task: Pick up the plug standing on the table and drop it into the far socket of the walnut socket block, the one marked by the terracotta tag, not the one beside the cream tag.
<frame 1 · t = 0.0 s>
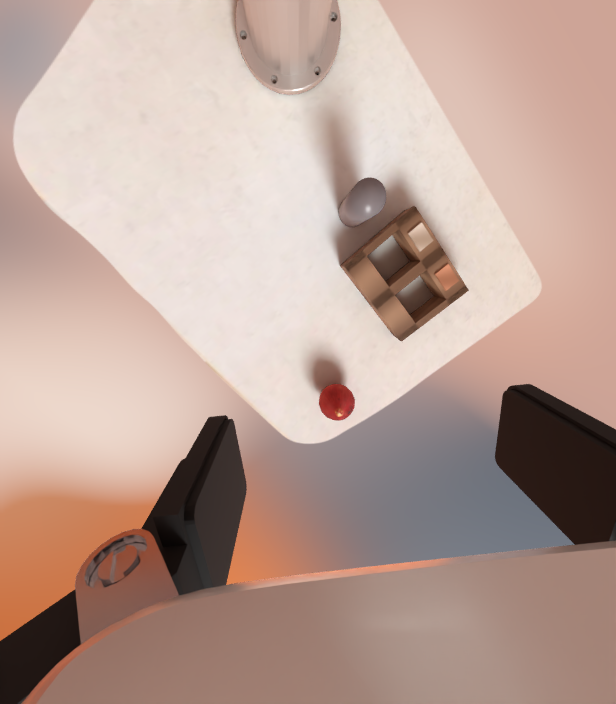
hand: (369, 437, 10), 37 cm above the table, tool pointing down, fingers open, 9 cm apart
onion: (333, 391, 51), on the table
socket block: (398, 276, 45), on the table
plug: (352, 212, 42), on the table
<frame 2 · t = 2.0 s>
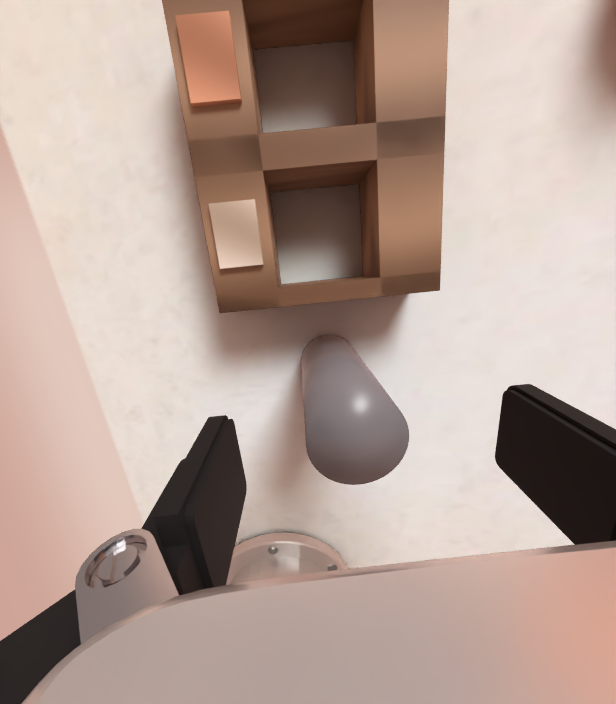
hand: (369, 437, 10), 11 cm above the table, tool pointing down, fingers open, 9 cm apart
socket block: (313, 174, 17), on the table
plug: (328, 361, 21), on the table
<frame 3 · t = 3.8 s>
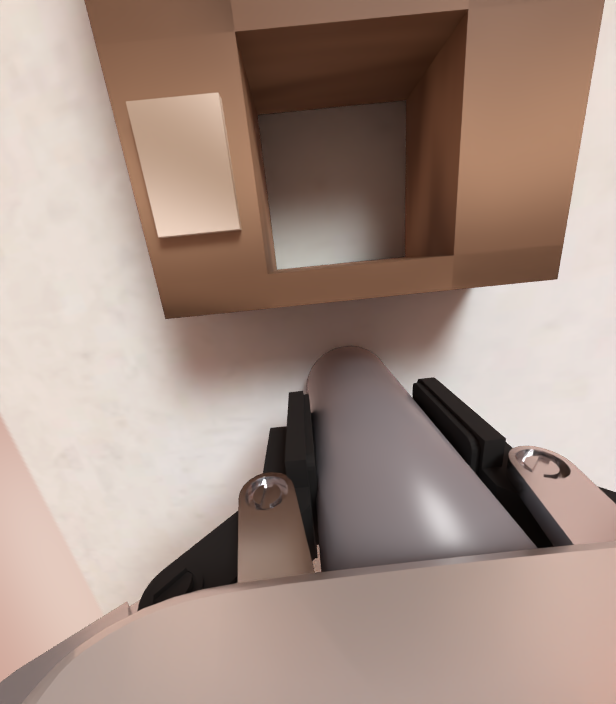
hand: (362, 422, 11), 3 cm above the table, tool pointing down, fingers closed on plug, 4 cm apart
socket block: (330, 82, 10), on the table
plug: (347, 385, 14), on the table, touching gripper
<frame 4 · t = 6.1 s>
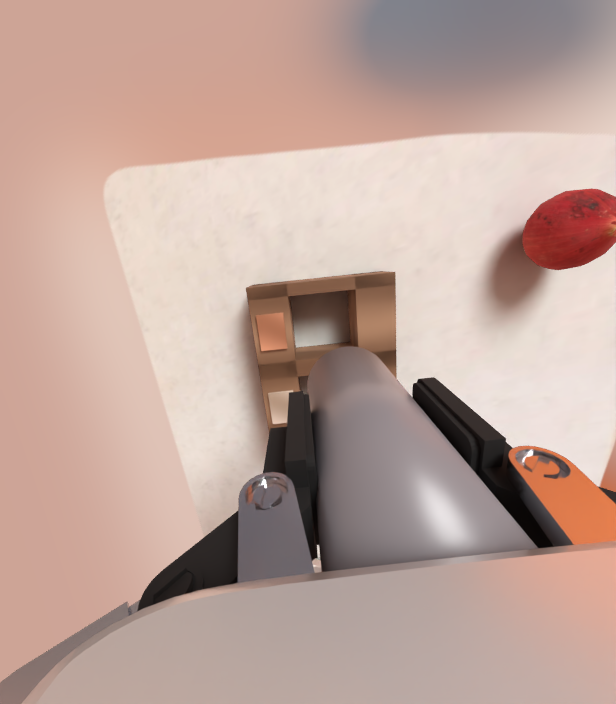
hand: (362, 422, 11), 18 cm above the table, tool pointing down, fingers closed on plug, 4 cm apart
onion: (529, 235, 26), on the table
socket block: (323, 352, 29), on the table
plug: (348, 385, 14), point 15 cm above the table, touching gripper
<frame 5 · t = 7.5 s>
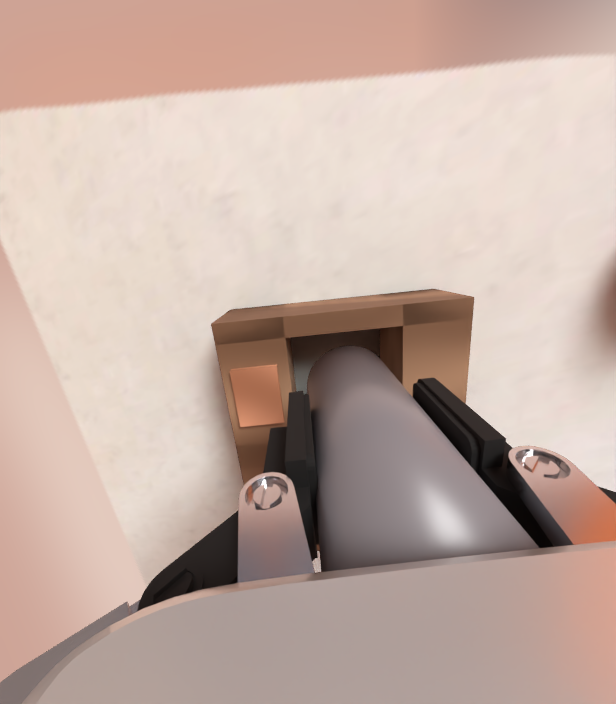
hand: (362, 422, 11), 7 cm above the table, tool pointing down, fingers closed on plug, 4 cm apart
socket block: (340, 408, 19), on the table
plug: (347, 384, 14), point 4 cm above the table, touching gripper
when the fingers open (5 cm above the table, at t = 8.7 s): plug drops 1 cm, resting in socket block.
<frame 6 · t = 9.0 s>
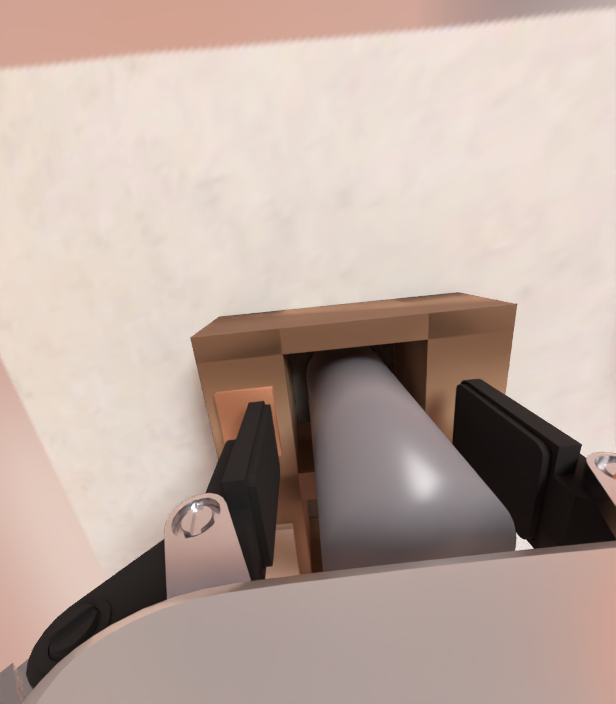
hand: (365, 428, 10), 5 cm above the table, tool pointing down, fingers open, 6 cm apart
socket block: (346, 429, 16), on the table
plug: (343, 373, 15), resting in socket block
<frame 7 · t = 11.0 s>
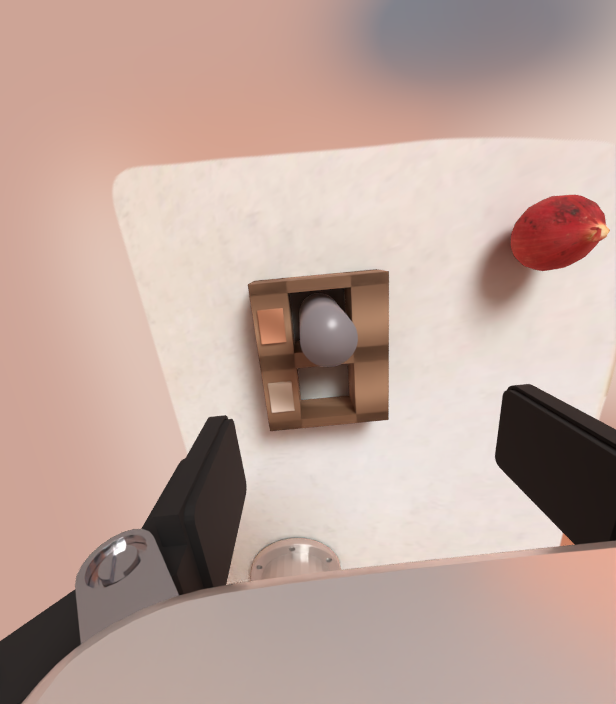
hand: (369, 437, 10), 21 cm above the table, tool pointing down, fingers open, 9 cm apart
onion: (518, 237, 28), on the table
socket block: (320, 345, 30), on the table
plug: (318, 312, 29), resting in socket block
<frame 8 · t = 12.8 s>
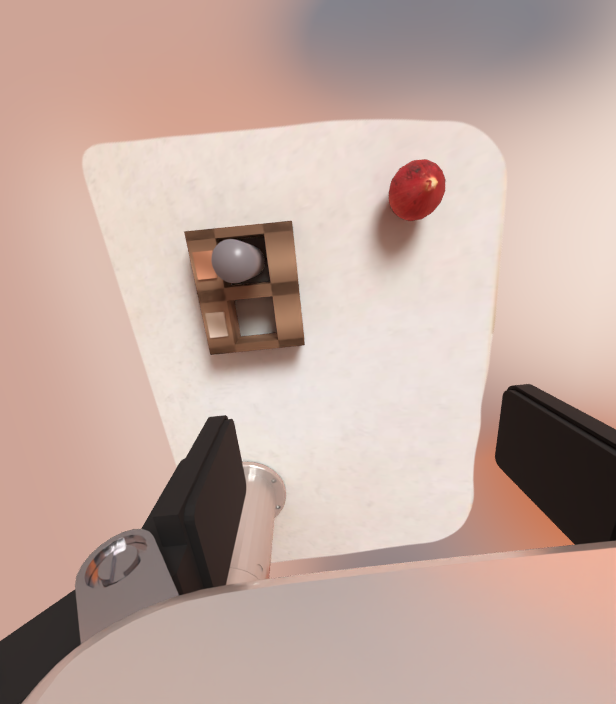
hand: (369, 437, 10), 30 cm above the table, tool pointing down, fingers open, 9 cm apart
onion: (403, 198, 35), on the table
socket block: (253, 288, 38), on the table
plug: (249, 261, 37), resting in socket block
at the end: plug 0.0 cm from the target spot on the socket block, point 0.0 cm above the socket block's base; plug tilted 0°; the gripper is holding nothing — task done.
